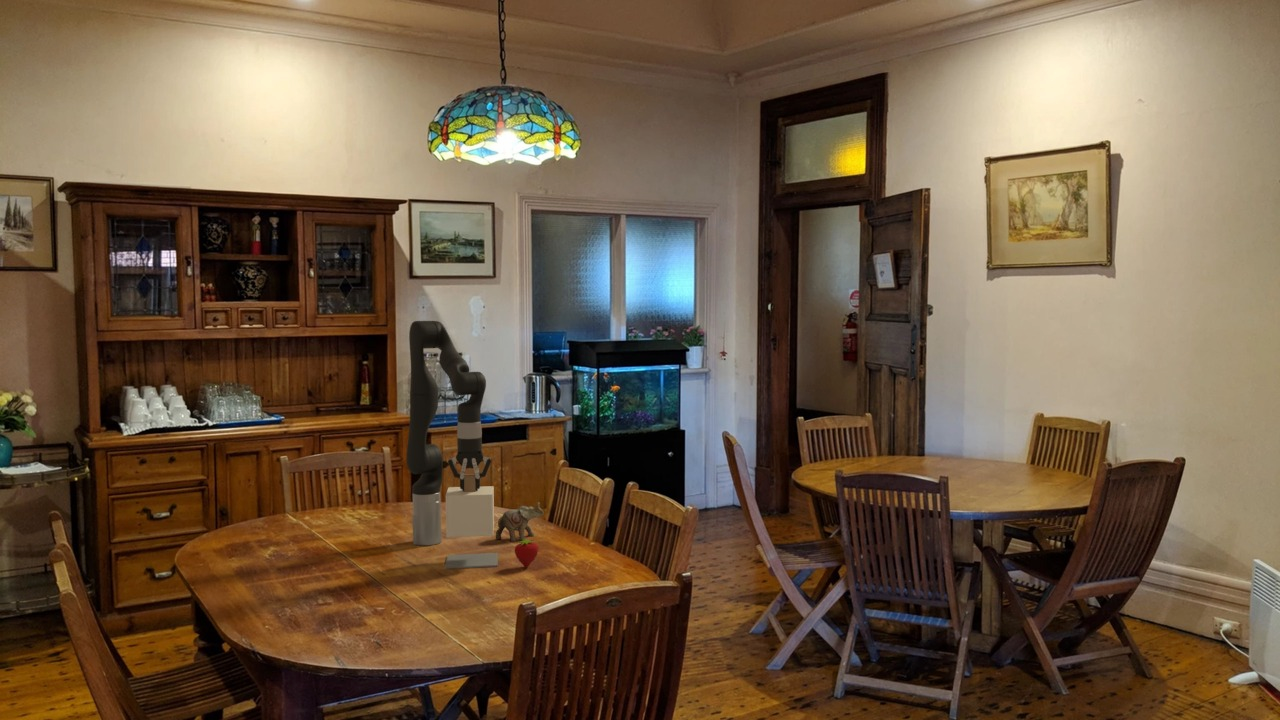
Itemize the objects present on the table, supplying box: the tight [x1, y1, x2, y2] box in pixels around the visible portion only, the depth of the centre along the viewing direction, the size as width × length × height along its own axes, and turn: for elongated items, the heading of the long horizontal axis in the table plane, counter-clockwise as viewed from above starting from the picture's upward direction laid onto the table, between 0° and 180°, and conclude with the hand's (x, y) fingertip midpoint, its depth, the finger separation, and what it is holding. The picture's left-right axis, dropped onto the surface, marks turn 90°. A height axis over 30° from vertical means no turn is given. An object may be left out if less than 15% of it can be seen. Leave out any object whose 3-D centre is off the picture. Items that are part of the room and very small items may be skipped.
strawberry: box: [514, 537, 540, 568], centre depth 291 cm, size 6×8×10 cm
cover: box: [445, 473, 495, 538], centre depth 297 cm, size 14×12×18 cm
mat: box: [444, 552, 499, 570], centre depth 298 cm, size 16×14×1 cm
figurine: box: [495, 501, 544, 543], centre depth 325 cm, size 10×14×15 cm, turn 88°
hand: (470, 490), depth 296 cm, fingers closed on cover, 3 cm apart
